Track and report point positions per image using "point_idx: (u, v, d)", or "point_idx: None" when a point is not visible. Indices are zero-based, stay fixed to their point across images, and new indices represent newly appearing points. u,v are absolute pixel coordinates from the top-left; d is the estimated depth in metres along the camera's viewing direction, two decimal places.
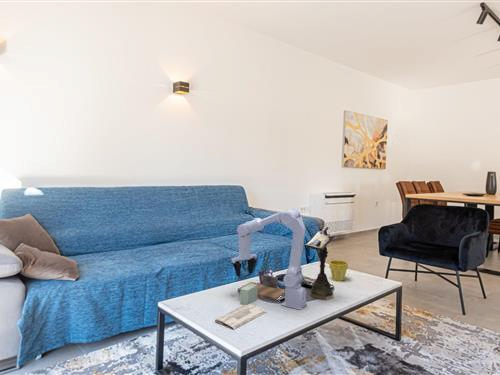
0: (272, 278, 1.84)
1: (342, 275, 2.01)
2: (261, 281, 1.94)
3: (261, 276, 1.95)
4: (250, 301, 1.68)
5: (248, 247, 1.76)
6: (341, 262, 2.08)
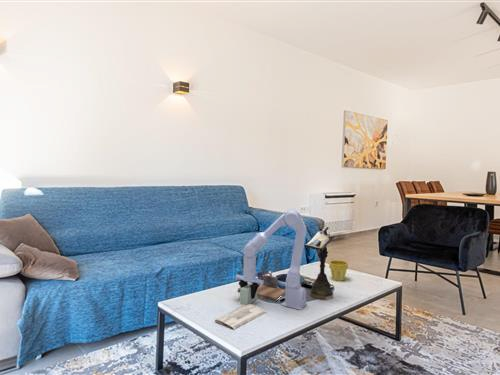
0: (272, 278, 1.84)
1: (342, 275, 2.01)
2: None
3: (260, 277, 1.93)
4: (250, 301, 1.68)
5: (254, 268, 1.68)
6: (341, 262, 2.08)
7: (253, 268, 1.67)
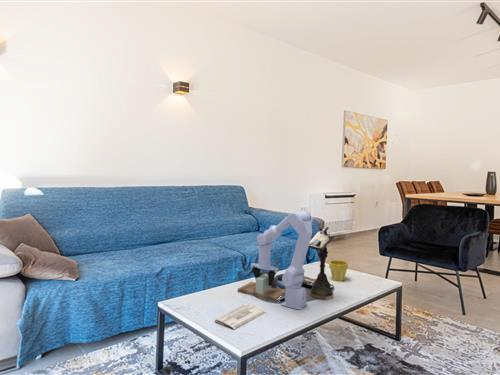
0: None
1: (342, 275, 2.01)
2: None
3: None
4: (265, 290, 1.77)
5: (267, 257, 1.77)
6: (341, 262, 2.08)
7: (265, 256, 1.76)
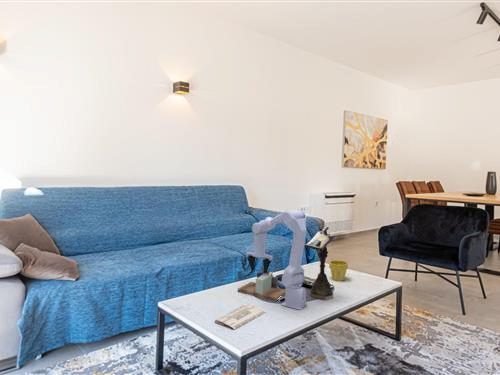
0: (272, 278, 1.84)
1: (342, 275, 2.01)
2: None
3: None
4: (265, 290, 1.77)
5: (261, 245, 1.82)
6: (341, 262, 2.08)
7: (259, 245, 1.81)
